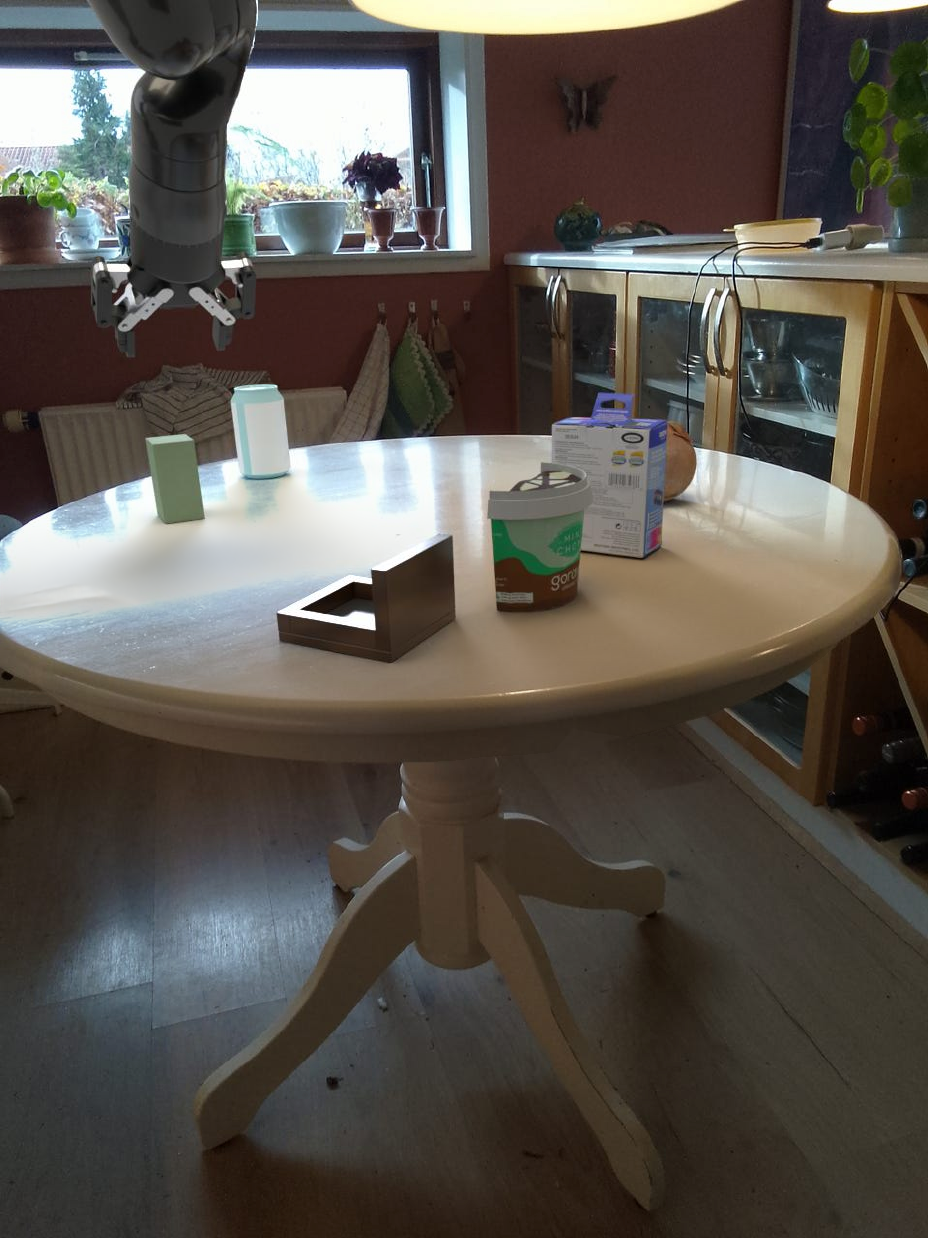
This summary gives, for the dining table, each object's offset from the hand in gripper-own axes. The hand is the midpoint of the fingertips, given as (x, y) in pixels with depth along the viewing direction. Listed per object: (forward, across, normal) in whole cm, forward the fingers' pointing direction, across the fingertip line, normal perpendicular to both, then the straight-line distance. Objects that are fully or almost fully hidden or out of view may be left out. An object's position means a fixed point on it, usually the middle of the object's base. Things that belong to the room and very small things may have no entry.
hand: (174, 346), depth 87 cm
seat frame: (-10, -6, +37) cm, 39 cm away
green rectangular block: (+22, 0, +6) cm, 23 cm away
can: (+35, -15, -7) cm, 38 cm away
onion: (+6, -49, +23) cm, 55 cm away
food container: (-10, -22, +38) cm, 45 cm away
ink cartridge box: (-4, -34, +32) cm, 47 cm away
